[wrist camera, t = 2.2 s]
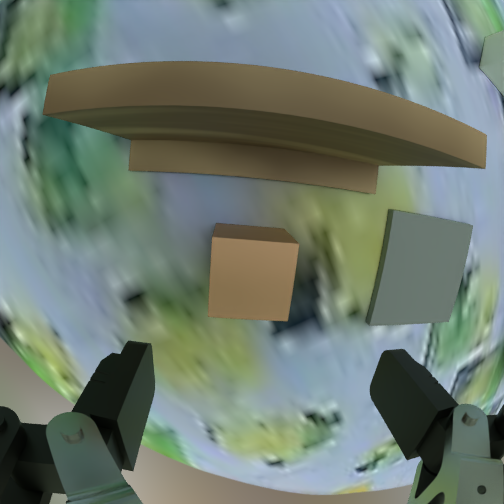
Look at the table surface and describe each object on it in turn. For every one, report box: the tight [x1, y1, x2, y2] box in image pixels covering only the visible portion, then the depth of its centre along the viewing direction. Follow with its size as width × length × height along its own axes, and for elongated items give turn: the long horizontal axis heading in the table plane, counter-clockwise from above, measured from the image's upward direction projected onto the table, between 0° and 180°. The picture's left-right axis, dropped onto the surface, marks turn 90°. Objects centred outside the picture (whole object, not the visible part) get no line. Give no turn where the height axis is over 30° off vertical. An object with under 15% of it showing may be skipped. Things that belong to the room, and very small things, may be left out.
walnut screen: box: [43, 61, 487, 194], centre depth 14 cm, size 6×18×12 cm, turn 84°
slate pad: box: [366, 209, 473, 326], centre depth 23 cm, size 10×10×1 cm
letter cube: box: [208, 223, 299, 321], centre depth 20 cm, size 5×5×5 cm
